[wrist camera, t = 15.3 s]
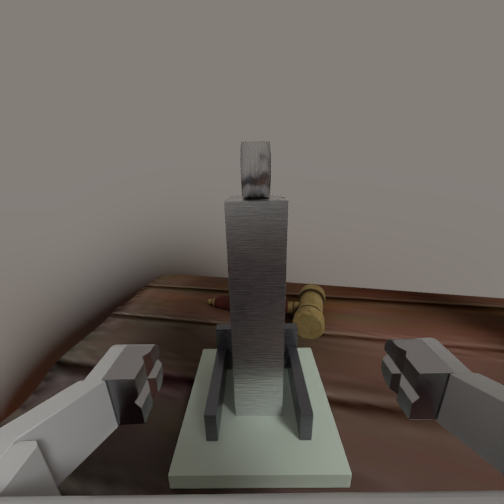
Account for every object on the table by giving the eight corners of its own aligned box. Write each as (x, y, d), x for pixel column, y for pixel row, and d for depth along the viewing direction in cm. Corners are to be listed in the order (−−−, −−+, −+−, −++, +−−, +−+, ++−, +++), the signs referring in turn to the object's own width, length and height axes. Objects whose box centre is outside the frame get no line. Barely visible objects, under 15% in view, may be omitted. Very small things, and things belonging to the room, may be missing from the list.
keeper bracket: (349, 487, 19) (360, 421, 17) (170, 488, 19) (157, 423, 17) (309, 357, 32) (313, 310, 30) (204, 358, 32) (199, 312, 30)
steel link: (282, 415, 23) (290, 136, 16) (235, 416, 23) (220, 138, 16) (277, 378, 27) (282, 144, 20) (238, 378, 27) (227, 145, 20)
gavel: (192, 303, 40) (217, 279, 49) (196, 327, 42) (220, 299, 51) (324, 314, 34) (325, 284, 43) (324, 342, 35) (325, 307, 44)
